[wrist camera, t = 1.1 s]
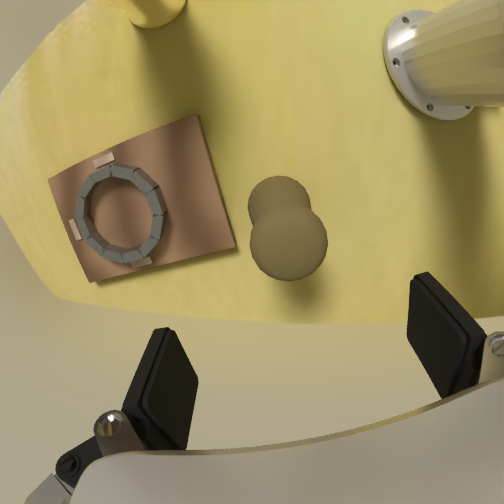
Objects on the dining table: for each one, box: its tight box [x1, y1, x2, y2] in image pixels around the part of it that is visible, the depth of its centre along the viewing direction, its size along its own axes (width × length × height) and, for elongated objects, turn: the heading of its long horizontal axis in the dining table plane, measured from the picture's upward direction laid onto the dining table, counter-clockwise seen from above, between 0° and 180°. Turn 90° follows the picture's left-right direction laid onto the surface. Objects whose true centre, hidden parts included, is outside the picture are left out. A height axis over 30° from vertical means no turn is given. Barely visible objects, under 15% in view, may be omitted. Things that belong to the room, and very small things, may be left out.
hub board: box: [48, 115, 236, 283], centre depth 28 cm, size 18×13×1 cm
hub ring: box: [75, 163, 168, 263], centre depth 27 cm, size 10×10×2 cm
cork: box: [248, 176, 328, 281], centre depth 23 cm, size 6×6×11 cm
